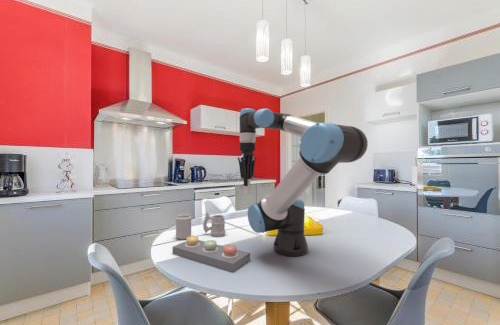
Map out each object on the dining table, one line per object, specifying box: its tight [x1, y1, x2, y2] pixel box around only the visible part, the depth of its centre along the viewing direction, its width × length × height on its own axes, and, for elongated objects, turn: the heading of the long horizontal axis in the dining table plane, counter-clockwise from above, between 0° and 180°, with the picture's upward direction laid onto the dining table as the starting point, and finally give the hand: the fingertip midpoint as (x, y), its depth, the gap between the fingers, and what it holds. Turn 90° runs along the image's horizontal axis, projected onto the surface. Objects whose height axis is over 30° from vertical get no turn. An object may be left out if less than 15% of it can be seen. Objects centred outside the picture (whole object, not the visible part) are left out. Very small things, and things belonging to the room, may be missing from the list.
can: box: [175, 212, 192, 241], centre depth 120 cm, size 8×8×12 cm
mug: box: [202, 211, 226, 238], centre depth 125 cm, size 8×12×12 cm, turn 91°
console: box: [172, 239, 251, 273], centre depth 97 cm, size 31×12×3 cm, turn 59°
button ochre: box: [185, 235, 199, 245], centre depth 102 cm, size 5×5×2 cm
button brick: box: [223, 244, 238, 255], centre depth 92 cm, size 5×5×2 cm
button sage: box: [204, 239, 218, 249], centre depth 97 cm, size 5×5×2 cm
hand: (246, 192), depth 111 cm, fingers closed
